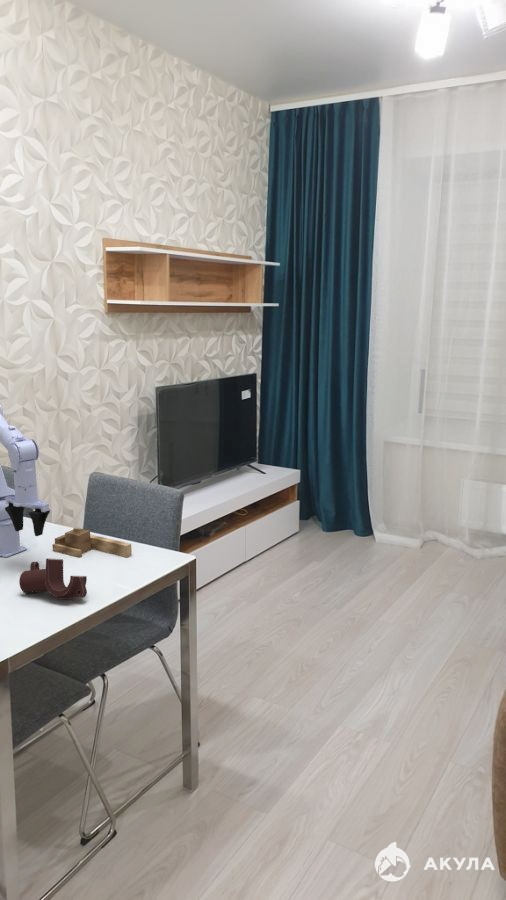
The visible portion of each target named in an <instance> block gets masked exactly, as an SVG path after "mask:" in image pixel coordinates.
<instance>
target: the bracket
mask: <svg viewBox="0 0 506 900" xmlns="http://www.w3.org/2000/svg"><path fill="white" fill-rule="evenodd" d="M29 566H30V567H29V568H30V570H24V571H22V573H21V574H20V576H19V581H18V583H19V587H20V590H21V591H22V592H23V593H24V594H28V593H29V594H31V593H40V592H48V593H49V594H51V595H52V596H55V598H57V600H66V599H67V600H68V599H79V598H80V599H81V598H85V597H86V596H87V594H88V590H87V587H86V585H87V576H86V575H70V579H69V583H68V585H66V584H65V582H64V560H63V558H50V557H49V558H46V559H45V568H40V563H39V561H31V563H30V565H29Z"/></svg>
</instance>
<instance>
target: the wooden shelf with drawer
mask: <svg viewBox="0 0 506 900" xmlns="http://www.w3.org/2000/svg"><path fill="white" fill-rule="evenodd" d="M90 540H91V550H95V551H99V552H102V553H108V554H110V555H114V554H115V556H119V557H124V558H129V557H132V554H133V553H132V543H129V542H125V541H121V540H116V539H113V538H109V537H108V538H107V537H104V536H98V535H94V534H91V533H90ZM52 552H55V553H60V554H63V555H68V556H71V557H76V558H78V559H79V558H82V557H83V554H82V550H80V549H76V548H72V547H68V546H66V542H65V534H63V535H60V536H57V537H55V538H54V543H53V544H52Z"/></svg>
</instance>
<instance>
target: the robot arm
mask: <svg viewBox="0 0 506 900" xmlns="http://www.w3.org/2000/svg"><path fill="white" fill-rule="evenodd" d="M3 410H4V409H3V407H2V405H1V404H0V444H1V445H2V446H3V447H4V448H5V449H6V451H7V454H8V459H9V461H10V467H11V470H12V471H13V482H14V488H12V487H9V486H8V483H7V480H6V477H5V473H4V470H3V468H2V465H1V463H0V557H3V558H8V557H11V556H14V555H16V554H18V553H21V552H23V551H27V549H28V547H26V546H22V545H21V538H20V531H22V530H24V514H25V509H26V508H27V509H32V511H30V512H28V514H29V517H30V519H31V521H32V525H33V533H34V536H35V537H39V536H42V535H43V533H44V527H45V524H46V521H47V518H48V516H49V514H50V512H51V510H50V504H49V503H48V502H44V501H43V500H41V499H39V498H38V497H39V496H38V487H37V486H38V484H37V481H38V480H37V467H36V461H37V460H38V459H39V457H40V455H39V454H40V450H39V446H38V443H37V442H36V440H35V439H34V438H26V437H25V435H23V433H22V432H21V431H20V430H19V429H18V428H17V427H16V426H14V425H10V424H8V422H7V420H6V419H5V417H4V412H3Z"/></svg>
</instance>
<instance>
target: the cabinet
mask: <svg viewBox="0 0 506 900" xmlns="http://www.w3.org/2000/svg"><path fill="white" fill-rule="evenodd" d="M90 534H91V530H88V529H84V528H80V527H73V529H72V530H71V529H70V530H68V531H66V532H64V535H65V542H66V546H68V547H72V548H76V549H80V550H82V555H83V554H85V553H87V552H91V550H92V549H91V540H90Z"/></svg>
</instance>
